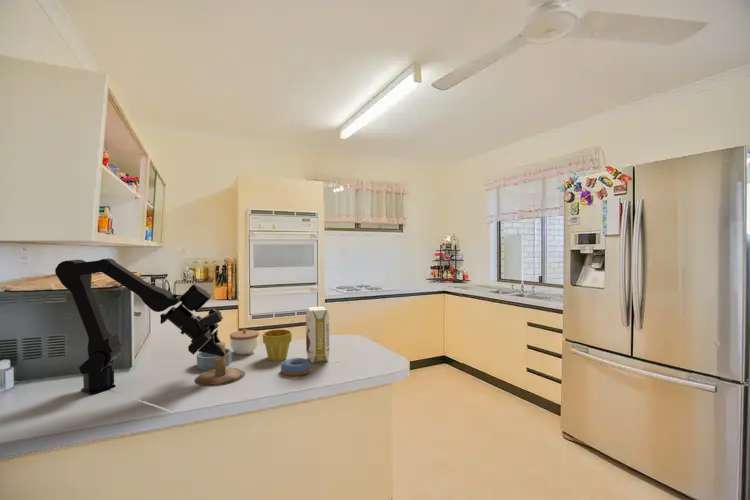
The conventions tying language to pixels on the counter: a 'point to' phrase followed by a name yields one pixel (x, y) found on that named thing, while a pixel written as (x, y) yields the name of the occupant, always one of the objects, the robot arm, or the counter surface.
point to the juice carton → (317, 334)
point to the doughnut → (296, 367)
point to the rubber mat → (219, 384)
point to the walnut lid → (220, 371)
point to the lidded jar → (244, 341)
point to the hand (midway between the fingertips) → (224, 353)
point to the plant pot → (277, 343)
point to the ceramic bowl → (211, 360)
